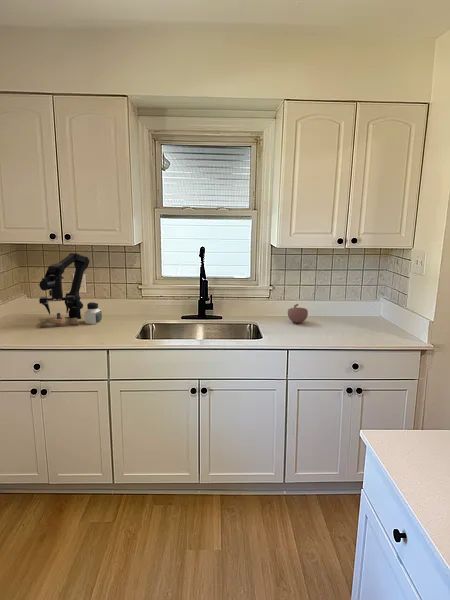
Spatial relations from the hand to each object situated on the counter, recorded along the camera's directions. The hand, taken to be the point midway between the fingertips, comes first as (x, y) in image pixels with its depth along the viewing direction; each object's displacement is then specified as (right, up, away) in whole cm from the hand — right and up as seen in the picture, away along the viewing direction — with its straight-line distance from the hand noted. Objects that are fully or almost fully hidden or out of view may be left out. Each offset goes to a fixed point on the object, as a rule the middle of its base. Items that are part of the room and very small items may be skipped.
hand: (58, 313), depth 237 cm
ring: (0, -5, +1) cm, 5 cm away
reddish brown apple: (+140, -6, +11) cm, 141 cm away
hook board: (0, -6, +1) cm, 6 cm away
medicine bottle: (+18, -5, +6) cm, 20 cm away
